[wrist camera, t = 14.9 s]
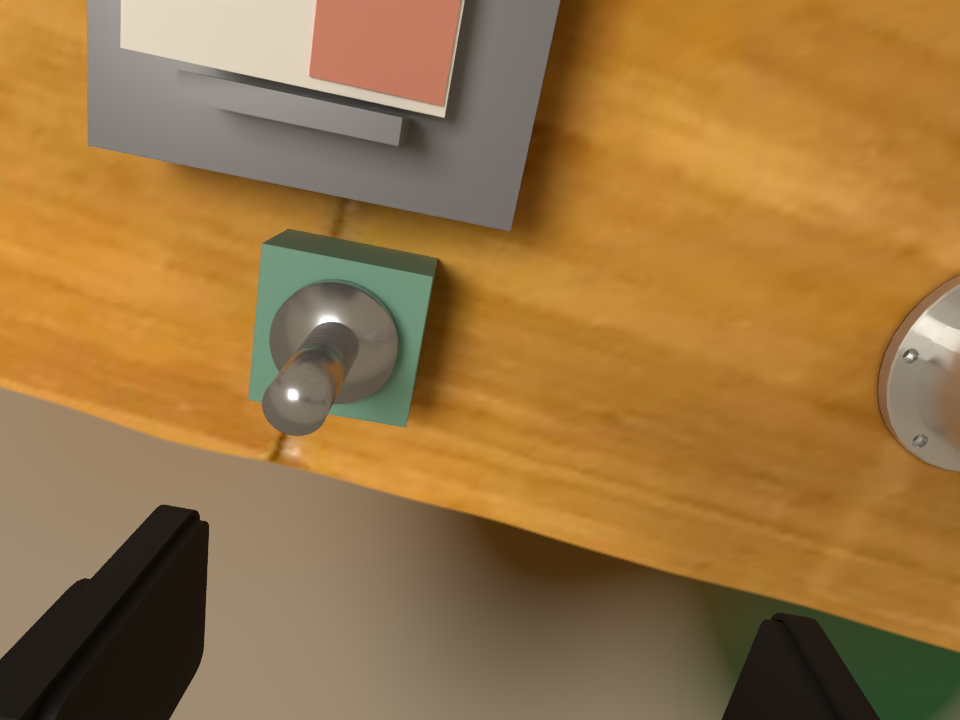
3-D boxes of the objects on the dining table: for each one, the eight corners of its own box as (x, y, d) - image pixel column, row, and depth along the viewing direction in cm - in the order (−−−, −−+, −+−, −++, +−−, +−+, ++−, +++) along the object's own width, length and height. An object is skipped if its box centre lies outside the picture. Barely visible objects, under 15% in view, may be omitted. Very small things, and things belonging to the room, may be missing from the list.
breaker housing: (569, -95, 29) (611, -193, 20) (504, 213, 34) (515, 245, 25) (164, -194, 28) (18, -346, 19) (154, 142, 32) (33, 148, 23)
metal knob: (415, 274, 34) (387, 346, 23) (397, 377, 36) (364, 489, 25) (302, 251, 34) (218, 314, 23) (291, 357, 36) (207, 463, 25)
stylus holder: (437, 258, 35) (432, 276, 30) (413, 393, 37) (405, 427, 33) (288, 228, 34) (262, 243, 30) (274, 368, 37) (248, 399, 32)
